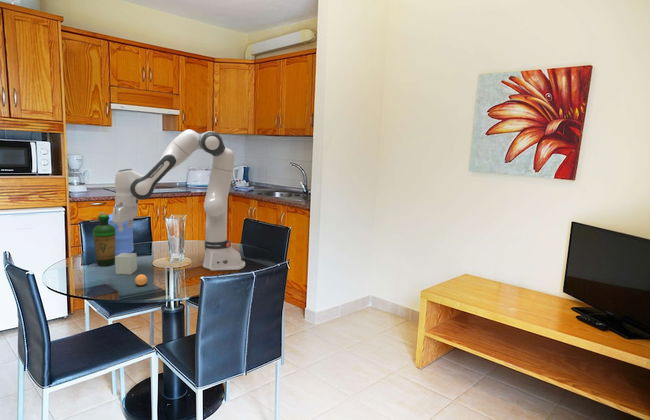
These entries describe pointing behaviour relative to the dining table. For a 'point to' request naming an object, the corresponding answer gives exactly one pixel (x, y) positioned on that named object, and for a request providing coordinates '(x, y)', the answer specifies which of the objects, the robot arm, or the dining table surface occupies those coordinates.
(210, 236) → the robot arm
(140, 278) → the ball
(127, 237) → the water jug
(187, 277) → the dining table surface
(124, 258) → the beige rounded cube
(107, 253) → the bottle
